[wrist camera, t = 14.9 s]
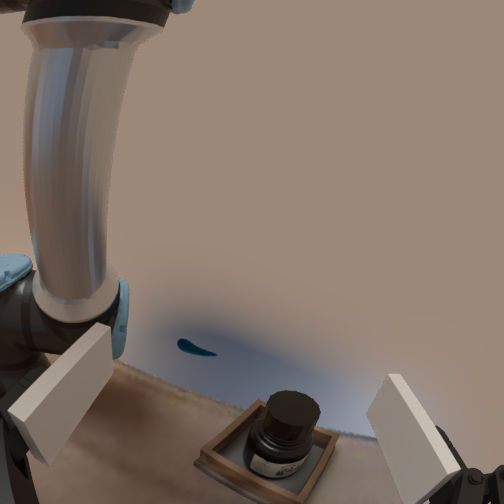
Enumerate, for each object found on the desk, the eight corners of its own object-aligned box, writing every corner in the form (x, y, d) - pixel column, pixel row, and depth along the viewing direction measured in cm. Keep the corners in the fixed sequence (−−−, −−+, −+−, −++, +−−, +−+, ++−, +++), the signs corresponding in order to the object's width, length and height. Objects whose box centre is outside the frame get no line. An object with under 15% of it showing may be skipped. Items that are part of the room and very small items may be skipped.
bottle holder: (193, 464, 29) (195, 449, 28) (252, 413, 43) (257, 396, 42) (293, 519, 21) (304, 507, 20) (333, 450, 35) (343, 434, 34)
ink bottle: (249, 486, 26) (270, 438, 24) (232, 441, 34) (246, 388, 32) (312, 472, 29) (343, 423, 27) (289, 434, 37) (311, 382, 35)
